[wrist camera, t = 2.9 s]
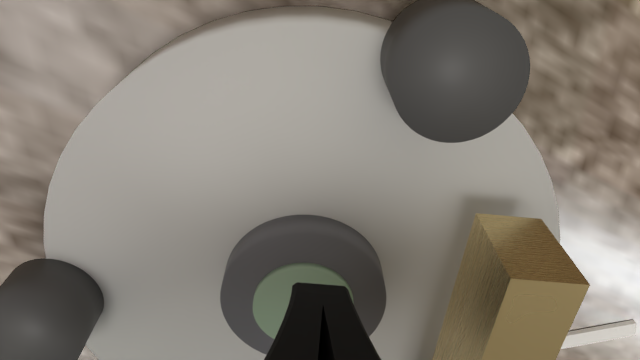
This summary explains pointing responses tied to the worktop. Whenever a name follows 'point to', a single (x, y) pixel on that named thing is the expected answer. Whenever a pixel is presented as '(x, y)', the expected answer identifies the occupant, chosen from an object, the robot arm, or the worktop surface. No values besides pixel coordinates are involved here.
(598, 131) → the worktop surface
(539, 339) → the lever
